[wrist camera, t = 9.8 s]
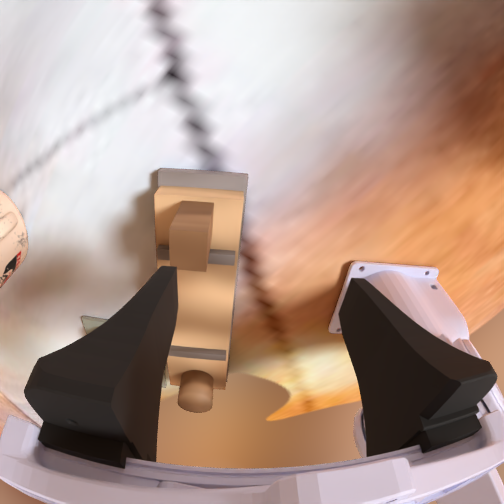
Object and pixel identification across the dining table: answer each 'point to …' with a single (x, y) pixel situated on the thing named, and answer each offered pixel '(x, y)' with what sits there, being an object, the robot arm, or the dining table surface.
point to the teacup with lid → (11, 238)
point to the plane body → (200, 274)
